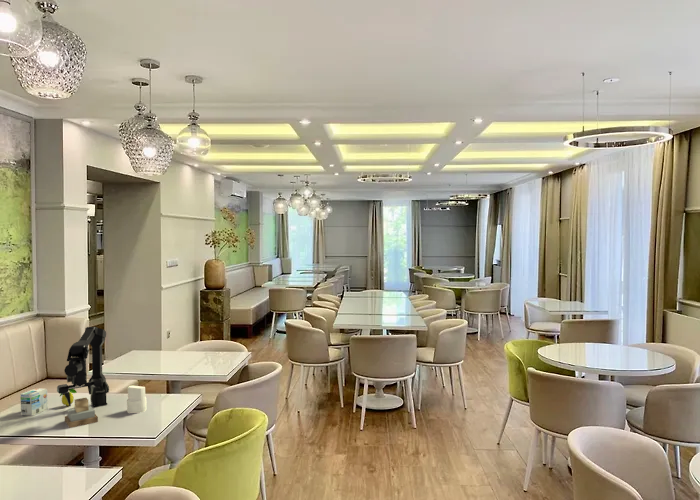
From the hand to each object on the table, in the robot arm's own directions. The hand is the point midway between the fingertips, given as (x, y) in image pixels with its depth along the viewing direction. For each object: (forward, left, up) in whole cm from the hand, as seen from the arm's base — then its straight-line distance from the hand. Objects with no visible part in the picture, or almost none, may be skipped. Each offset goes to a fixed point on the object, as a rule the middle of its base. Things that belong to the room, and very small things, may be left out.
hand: (80, 403), depth 246 cm
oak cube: (0, 0, -3) cm, 3 cm away
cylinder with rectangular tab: (-25, +2, -9) cm, 27 cm away
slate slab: (0, 0, -6) cm, 6 cm away
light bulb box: (+15, -32, -9) cm, 36 cm away
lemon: (0, -31, -9) cm, 32 cm away
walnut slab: (0, 0, -9) cm, 9 cm away
